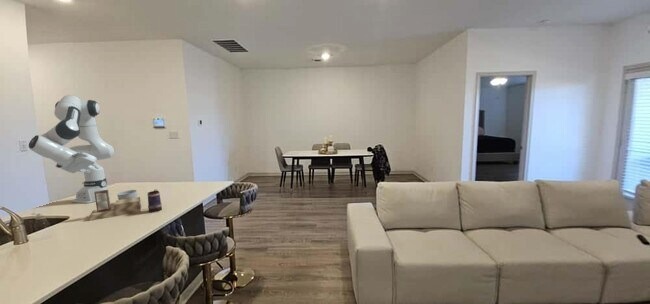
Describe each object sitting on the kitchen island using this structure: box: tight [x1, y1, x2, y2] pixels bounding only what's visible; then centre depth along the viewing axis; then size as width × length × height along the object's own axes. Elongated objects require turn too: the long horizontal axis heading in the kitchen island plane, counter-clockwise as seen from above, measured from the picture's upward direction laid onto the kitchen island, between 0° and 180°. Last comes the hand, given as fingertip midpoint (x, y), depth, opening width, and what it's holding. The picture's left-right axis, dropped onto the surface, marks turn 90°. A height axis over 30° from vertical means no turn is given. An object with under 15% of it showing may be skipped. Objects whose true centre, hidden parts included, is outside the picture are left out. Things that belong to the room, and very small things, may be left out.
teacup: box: [116, 189, 138, 200], centre depth 193 cm, size 14×11×8 cm
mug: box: [147, 189, 163, 213], centre depth 176 cm, size 10×7×12 cm
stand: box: [89, 196, 142, 221], centre depth 172 cm, size 24×10×7 cm, turn 119°
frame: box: [94, 189, 112, 213], centre depth 168 cm, size 6×3×12 cm, turn 119°
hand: (94, 170), depth 164 cm, fingers open, 8 cm apart
